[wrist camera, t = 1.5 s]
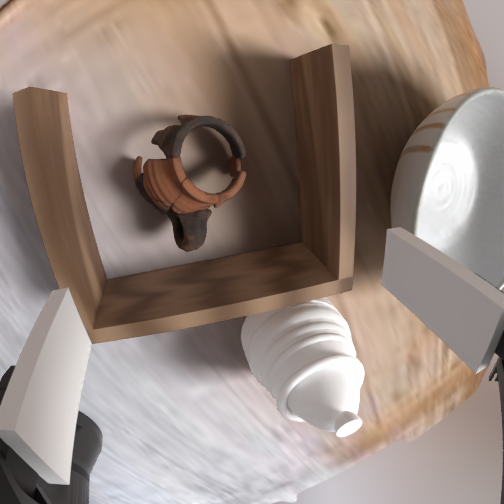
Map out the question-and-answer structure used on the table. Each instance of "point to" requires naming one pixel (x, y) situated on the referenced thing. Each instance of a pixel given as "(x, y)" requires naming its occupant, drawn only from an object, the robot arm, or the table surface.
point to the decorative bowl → (457, 182)
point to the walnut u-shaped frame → (216, 270)
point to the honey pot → (307, 364)
